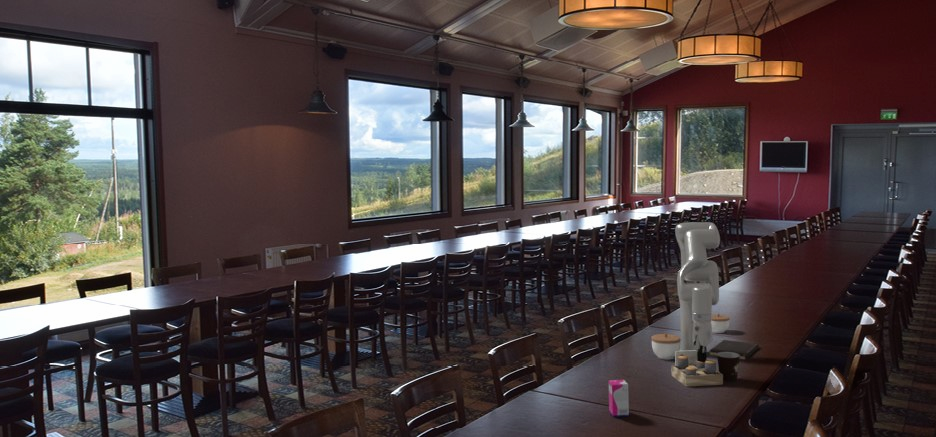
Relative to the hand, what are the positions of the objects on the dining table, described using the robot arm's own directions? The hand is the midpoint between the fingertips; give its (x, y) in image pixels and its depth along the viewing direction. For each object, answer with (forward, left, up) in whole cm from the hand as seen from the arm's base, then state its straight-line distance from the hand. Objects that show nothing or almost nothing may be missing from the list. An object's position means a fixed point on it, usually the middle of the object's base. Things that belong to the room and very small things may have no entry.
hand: (701, 361), depth 282 cm
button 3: (0, 0, -5) cm, 5 cm away
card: (-7, -4, -6) cm, 10 cm away
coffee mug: (+5, +10, -7) cm, 13 cm away
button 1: (0, -8, -3) cm, 8 cm away
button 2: (+8, -8, -5) cm, 12 cm away
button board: (+4, -4, -6) cm, 8 cm away
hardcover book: (-33, +30, -7) cm, 45 cm away
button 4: (+8, 0, -3) cm, 8 cm away
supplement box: (+36, -46, -7) cm, 59 cm away
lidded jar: (-69, +39, -7) cm, 80 cm away
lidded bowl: (-29, -4, -7) cm, 30 cm away
